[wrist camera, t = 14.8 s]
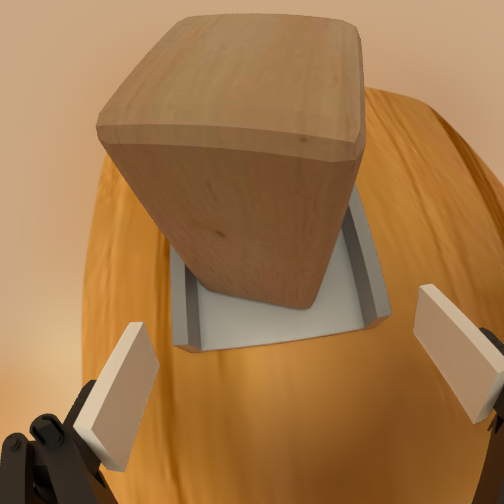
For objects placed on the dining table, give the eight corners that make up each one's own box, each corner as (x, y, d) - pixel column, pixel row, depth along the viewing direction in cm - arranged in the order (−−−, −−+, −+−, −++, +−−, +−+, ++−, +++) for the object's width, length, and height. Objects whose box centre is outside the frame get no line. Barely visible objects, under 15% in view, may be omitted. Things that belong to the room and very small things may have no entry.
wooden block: (200, 291, 28) (77, 127, 10) (229, 198, 31) (178, 12, 13) (312, 313, 26) (371, 145, 8) (328, 213, 30) (361, 17, 12)
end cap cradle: (335, 177, 33) (341, 146, 28) (374, 327, 26) (391, 314, 21) (186, 197, 33) (172, 169, 29) (191, 352, 26) (172, 345, 22)
